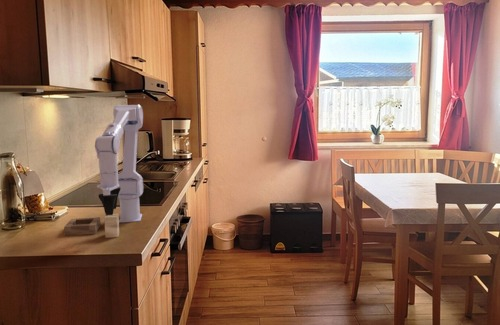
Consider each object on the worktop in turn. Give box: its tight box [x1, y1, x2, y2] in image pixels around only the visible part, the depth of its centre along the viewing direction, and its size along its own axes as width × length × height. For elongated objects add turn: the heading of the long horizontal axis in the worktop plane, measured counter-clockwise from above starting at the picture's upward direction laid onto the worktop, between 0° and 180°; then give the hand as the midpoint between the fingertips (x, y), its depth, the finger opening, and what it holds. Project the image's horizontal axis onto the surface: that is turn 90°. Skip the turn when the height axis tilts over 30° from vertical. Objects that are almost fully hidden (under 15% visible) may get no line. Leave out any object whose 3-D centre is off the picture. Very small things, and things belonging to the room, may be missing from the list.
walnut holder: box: [63, 216, 102, 236], centre depth 145 cm, size 10×10×3 cm
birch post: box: [103, 213, 120, 239], centre depth 139 cm, size 4×4×7 cm
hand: (111, 211), depth 138 cm, fingers open, 7 cm apart
